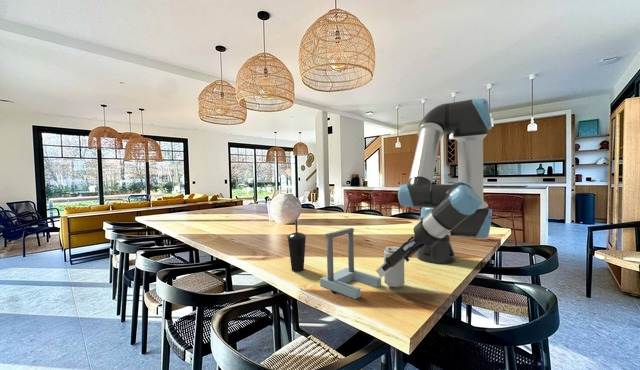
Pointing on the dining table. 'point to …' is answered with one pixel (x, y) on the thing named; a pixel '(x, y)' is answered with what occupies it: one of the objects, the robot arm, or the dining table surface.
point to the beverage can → (394, 269)
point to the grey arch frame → (345, 275)
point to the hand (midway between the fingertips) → (384, 270)
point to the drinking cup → (297, 250)
